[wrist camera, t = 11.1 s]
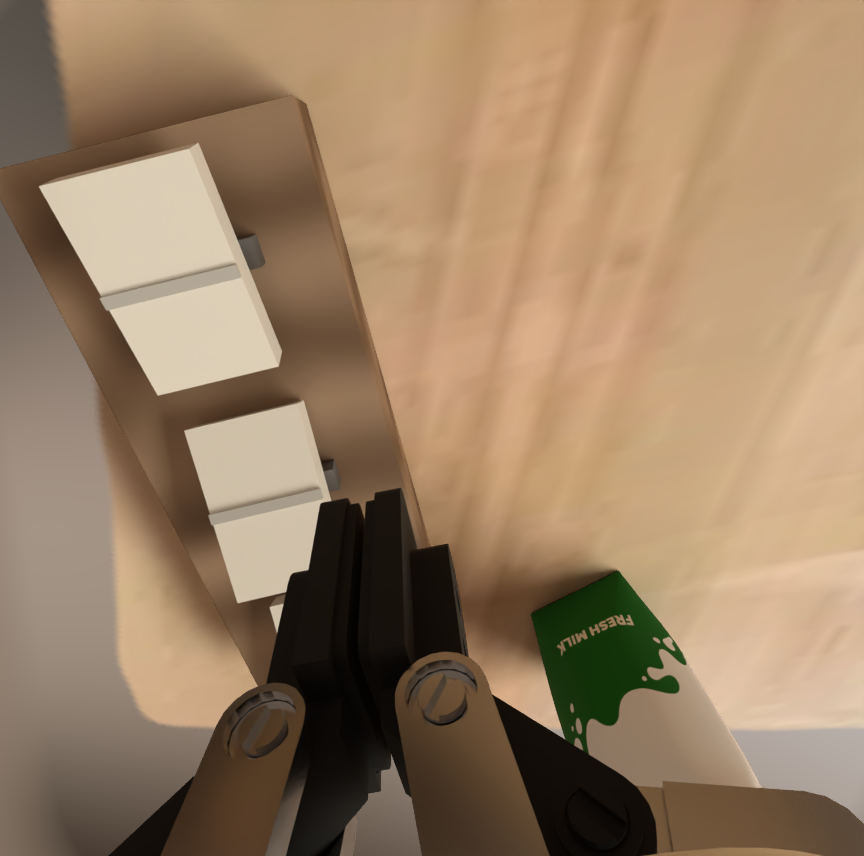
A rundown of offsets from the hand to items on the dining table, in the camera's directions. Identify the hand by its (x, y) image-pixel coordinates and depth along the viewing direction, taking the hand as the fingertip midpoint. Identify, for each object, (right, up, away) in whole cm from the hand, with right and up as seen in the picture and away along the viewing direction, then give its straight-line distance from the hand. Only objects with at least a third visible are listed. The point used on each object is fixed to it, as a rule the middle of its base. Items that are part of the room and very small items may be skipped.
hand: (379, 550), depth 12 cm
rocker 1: (-9, +9, +11) cm, 17 cm away
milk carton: (+13, -12, +30) cm, 35 cm away
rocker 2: (-6, -1, +16) cm, 17 cm away
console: (-7, +2, +21) cm, 23 cm away
